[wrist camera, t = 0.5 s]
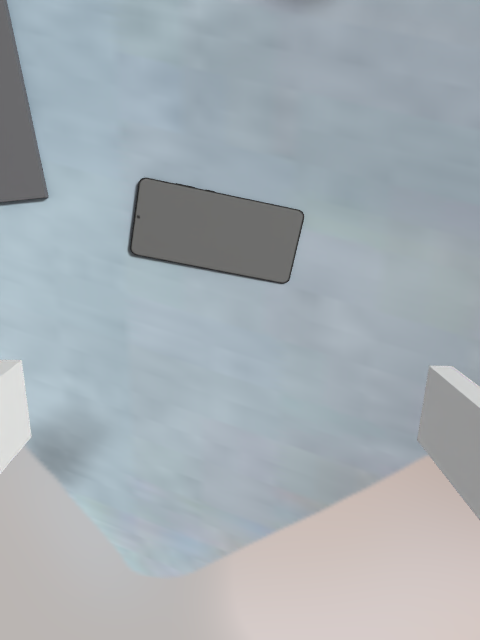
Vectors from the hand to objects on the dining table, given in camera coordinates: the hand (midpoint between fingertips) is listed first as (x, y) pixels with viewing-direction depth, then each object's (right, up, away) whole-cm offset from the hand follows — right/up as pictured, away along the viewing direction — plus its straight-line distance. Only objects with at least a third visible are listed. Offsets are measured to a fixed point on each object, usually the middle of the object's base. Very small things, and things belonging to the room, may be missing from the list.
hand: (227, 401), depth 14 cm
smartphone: (-2, +11, +25) cm, 27 cm away
